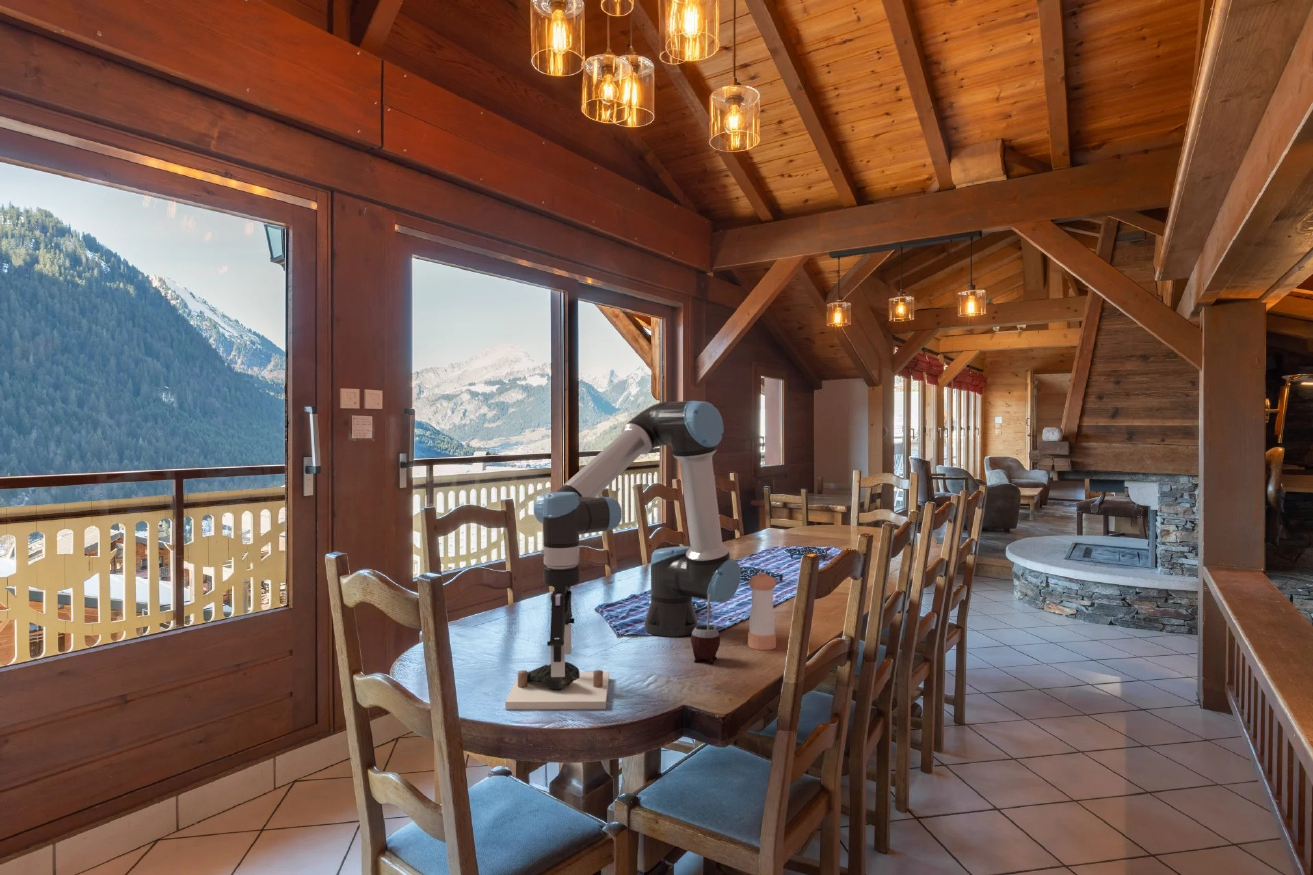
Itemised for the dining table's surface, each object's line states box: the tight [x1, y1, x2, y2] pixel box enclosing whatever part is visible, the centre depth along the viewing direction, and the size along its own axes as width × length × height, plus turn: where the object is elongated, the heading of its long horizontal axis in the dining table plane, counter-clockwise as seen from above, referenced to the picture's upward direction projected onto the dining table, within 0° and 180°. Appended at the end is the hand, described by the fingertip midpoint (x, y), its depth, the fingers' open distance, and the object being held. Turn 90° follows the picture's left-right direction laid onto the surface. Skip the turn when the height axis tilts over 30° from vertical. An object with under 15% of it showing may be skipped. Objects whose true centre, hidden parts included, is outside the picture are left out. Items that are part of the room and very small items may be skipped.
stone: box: [527, 661, 580, 690], centre depth 145 cm, size 7×13×5 cm, turn 67°
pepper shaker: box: [747, 572, 777, 651], centre depth 178 cm, size 7×7×19 cm
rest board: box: [504, 669, 610, 710], centre depth 145 cm, size 20×17×4 cm
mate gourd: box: [690, 594, 721, 665], centre depth 167 cm, size 8×8×15 cm
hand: (561, 664), depth 145 cm, fingers open, 13 cm apart
